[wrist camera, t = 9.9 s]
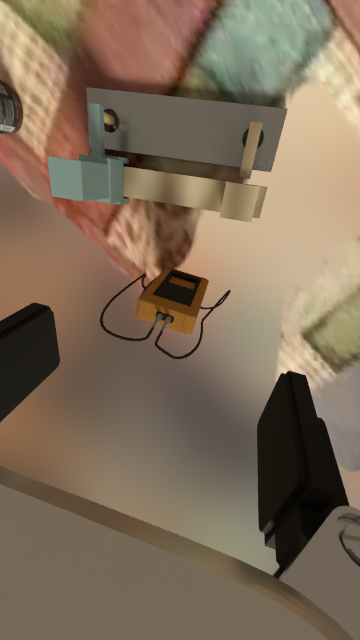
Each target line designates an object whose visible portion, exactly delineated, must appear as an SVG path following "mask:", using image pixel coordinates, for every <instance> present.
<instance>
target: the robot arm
mask: <svg viewBox="0 0 360 640" xmlns="http://www.w3.org/2000/svg"><path fill="white" fill-rule="evenodd" d="M59 363H60V357H59V350H58V342H57V335H56V328H55V320H54V314H53V312H52V311H51V309H50V307H49V306H46V305H42V304H39V303H32V304H30V305H28V306H27V307H25V308H23V309H21V310H19V311H17V312H16V313H14V314H12V315H10V316H9V317H7V318H5V319H3V320H1V321H0V422H1V421H2V420H3V419H4V418H5V417H6V416H7V415H8V414H9V413H10V412H11V411H12V410H14V408H15V407H17V406H18V405H19V404H20V403H21V402H22V401H23V400H24V399H25V398H26V397H27V396H28V395H29V394H30V393H31V392H32V391H33V390H34V389H35V388H36V387H37V386H38V385H40V383H42V382H43V380H45V379H46V378H47V377H48V376H49V375H50V374H51V373H52V372H53V371H54V370H55V369H56V368H57V367H58V365H59ZM257 444H258V445H257V449H258V509H259V510H258V512H259V529H260V531H261V532H263V533H265V546H268V547H271V548H273V549H276V561H277V563H278V564H279V567H278V568H277V570H276V571H275V572H274V573H273V575H270V574H268V573H266V572H264V571H262V570H259V569H257V568H255V567H253V566H251V565H249V564H247V563H245V562H243V561H240V560H238V559H236V558H234V557H231V556H229V555H226V554H224V553H222V552H219V551H217V550H214V549H212V548H209V547H207V546H204V545H202V544H199V543H197V542H195V541H192V540H190V539H187V538H185V537H182V536H180V535H178V534H175V533H172V532H170V531H167V530H165V529H162V528H160V527H157V526H154V525H152V524H149V523H147V522H144V521H142V520H139V519H136V518H134V517H131V516H129V515H126V514H124V513H121V512H118V511H116V510H113V509H111V508H108V507H106V506H103V505H100V504H98V503H95V502H93V501H90V500H88V499H85V498H82V497H80V496H77V495H75V494H72V493H69V492H67V491H64V490H61V489H59V488H56V487H54V486H51V485H48V484H45V483H43V482H41V481H38V480H35V479H33V478H30V477H27V476H25V475H22V474H20V473H17V472H14V471H12V470H9V469H7V468H4V467H1V466H0V640H360V510H358V509H356V508H353V507H350V506H349V503H348V499H347V496H346V493H345V489H344V486H343V482H342V479H341V476H340V472H339V469H338V465H337V462H336V459H335V455H334V452H333V448H332V445H331V442H330V438H329V435H328V431H327V428H326V425H325V423H324V421H323V420H322V419H321V418H318V417H317V414H316V411H315V407H314V403H313V400H312V396H311V392H310V389H309V385H308V381H307V378H306V376H305V375H303V374H299V373H295V372H291V371H288V372H287V373H286V374H284V373H282V374H281V375H280V377H279V379H278V381H277V383H276V385H275V387H274V389H273V391H272V394H271V396H270V398H269V400H268V402H267V404H266V406H265V409H264V411H263V413H262V415H261V417H260V419H259V422H258V426H257Z"/></svg>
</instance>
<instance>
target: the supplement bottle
mask: <svg viewBox="0 0 360 640" xmlns="http://www.w3.org/2000/svg"><path fill="white" fill-rule="evenodd" d="M22 120H23V112H22V107H21V104H20V101H19V99H18V97H17V95H16V93H15V92H14V91H13V89H12V88H11V87H10V86H9V85H8V84H6V83H5V82H3V81H1V80H0V133H1V134H14V133H16V132H17V131H18V130H19V129H20V127H21V125H22Z"/></svg>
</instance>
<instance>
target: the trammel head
mask: <svg viewBox="0 0 360 640" xmlns="http://www.w3.org/2000/svg"><path fill="white" fill-rule="evenodd" d="M89 111H90V134H91V153H90V156H88V155H81V154H79V160H74V159H66V158H58V157H50V156H47V158H48V167H49V175H50V183H51V192H52V196H54V197H60V198H66V199H72V200H78V201H90V200H93V201H99V202H105V203H112V204H118V205H121V204H126V203H128V199H127V198H123V163H125V164H129V159H127V158H122V157H116V156H109V155H105V144H104V123H106V124H108V125H113V124H114V117H113V116H111V115H109V114H107V113H105V112H104V107H103V106H102V105H100V104H92V103H89Z"/></svg>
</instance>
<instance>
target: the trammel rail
mask: <svg viewBox="0 0 360 640" xmlns="http://www.w3.org/2000/svg"><path fill="white" fill-rule="evenodd" d="M262 124H263V123H257V122H251V123H250V127H249V132H248V137H247V141H246V146H245V151H244V156H243V160H242V165H241V170H240V174H239V177H240V178H247V179H250V176H251V171H252V167H253V163H254V158H255V154H256V150H257V145H258V141H259V137H260V133H261V128H262ZM266 190H267V187H262V186H255V185H249V184H242V183H235V182H228V181H221V180H215V179H208V178H201V177H194V176H187V175H180V174H174V173H167V172H160V171H153V170H146V169H139V168H133V167H126V166H123V196H124V197H130V198H136V199H142V200H149V201H155V202H161V203H167V204H173V205H179V206H186V207H192V208H198V209H204V210H210V211H216V212H220V217H222V218H228V219H234V220H240V221H246V222H251V219H252V217H253V218H259V217H260V213H261V209H262V206H263V202H264V198H265V194H266Z"/></svg>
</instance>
